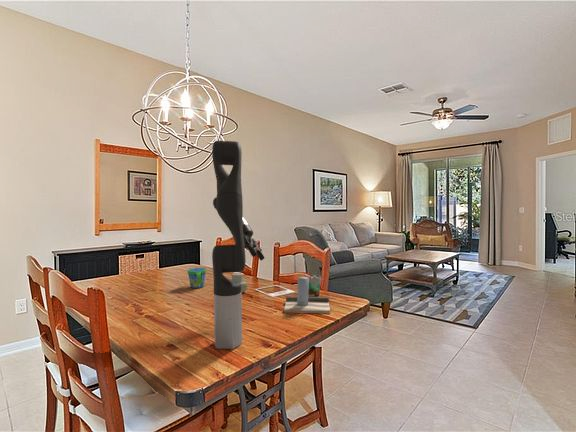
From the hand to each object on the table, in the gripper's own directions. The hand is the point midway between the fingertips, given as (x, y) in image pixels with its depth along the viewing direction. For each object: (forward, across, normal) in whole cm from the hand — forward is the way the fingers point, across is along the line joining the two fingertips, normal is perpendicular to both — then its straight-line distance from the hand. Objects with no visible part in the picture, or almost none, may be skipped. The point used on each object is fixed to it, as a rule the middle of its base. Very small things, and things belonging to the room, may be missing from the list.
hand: (259, 257), depth 132 cm
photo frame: (+5, +42, +13) cm, 44 cm away
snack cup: (-23, +38, +49) cm, 66 cm away
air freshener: (-5, +35, +28) cm, 45 cm away
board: (+25, +21, -2) cm, 33 cm away
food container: (+20, +40, -5) cm, 45 cm away
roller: (+23, +21, -1) cm, 31 cm away
